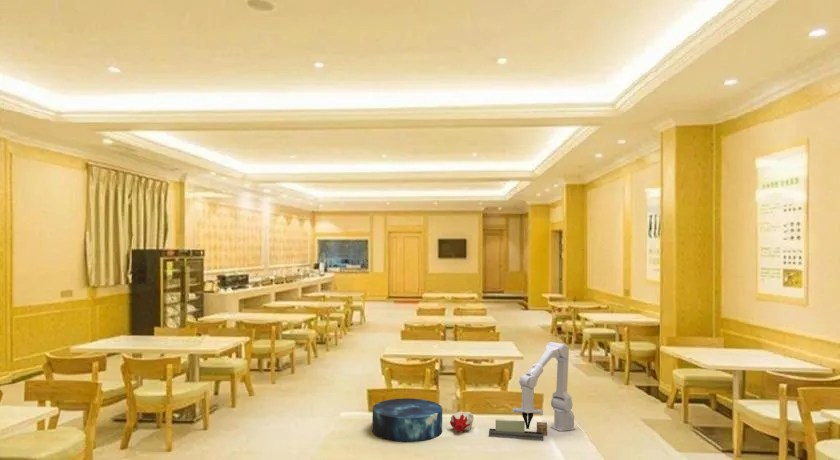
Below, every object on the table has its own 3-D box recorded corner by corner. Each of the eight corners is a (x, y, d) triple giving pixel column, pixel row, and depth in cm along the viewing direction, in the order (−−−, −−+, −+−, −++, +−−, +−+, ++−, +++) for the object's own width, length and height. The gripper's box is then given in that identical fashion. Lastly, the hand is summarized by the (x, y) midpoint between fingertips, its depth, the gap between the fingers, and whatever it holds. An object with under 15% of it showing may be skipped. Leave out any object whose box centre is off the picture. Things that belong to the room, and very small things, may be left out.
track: (542, 435, 281) (542, 431, 281) (543, 440, 274) (543, 435, 274) (489, 431, 286) (489, 427, 286) (488, 436, 280) (488, 431, 280)
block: (536, 431, 288) (536, 421, 288) (546, 432, 287) (546, 422, 287) (536, 435, 283) (536, 424, 283) (547, 435, 282) (547, 425, 282)
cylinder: (360, 426, 294) (361, 403, 294) (419, 417, 311) (419, 395, 312) (392, 447, 263) (393, 422, 264) (455, 435, 281) (456, 411, 282)
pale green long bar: (524, 433, 281) (524, 421, 281) (524, 434, 279) (524, 422, 279) (495, 431, 283) (495, 419, 284) (495, 432, 281) (495, 420, 282)
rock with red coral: (473, 425, 294) (470, 439, 280) (452, 424, 296) (447, 436, 282) (473, 408, 293) (470, 421, 279) (452, 407, 296) (447, 419, 281)
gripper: (512, 401, 277) (512, 429, 276) (543, 403, 274) (543, 432, 273) (512, 397, 283) (512, 425, 283) (542, 399, 281) (542, 427, 280)
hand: (527, 428), depth 279 cm, fingers closed
